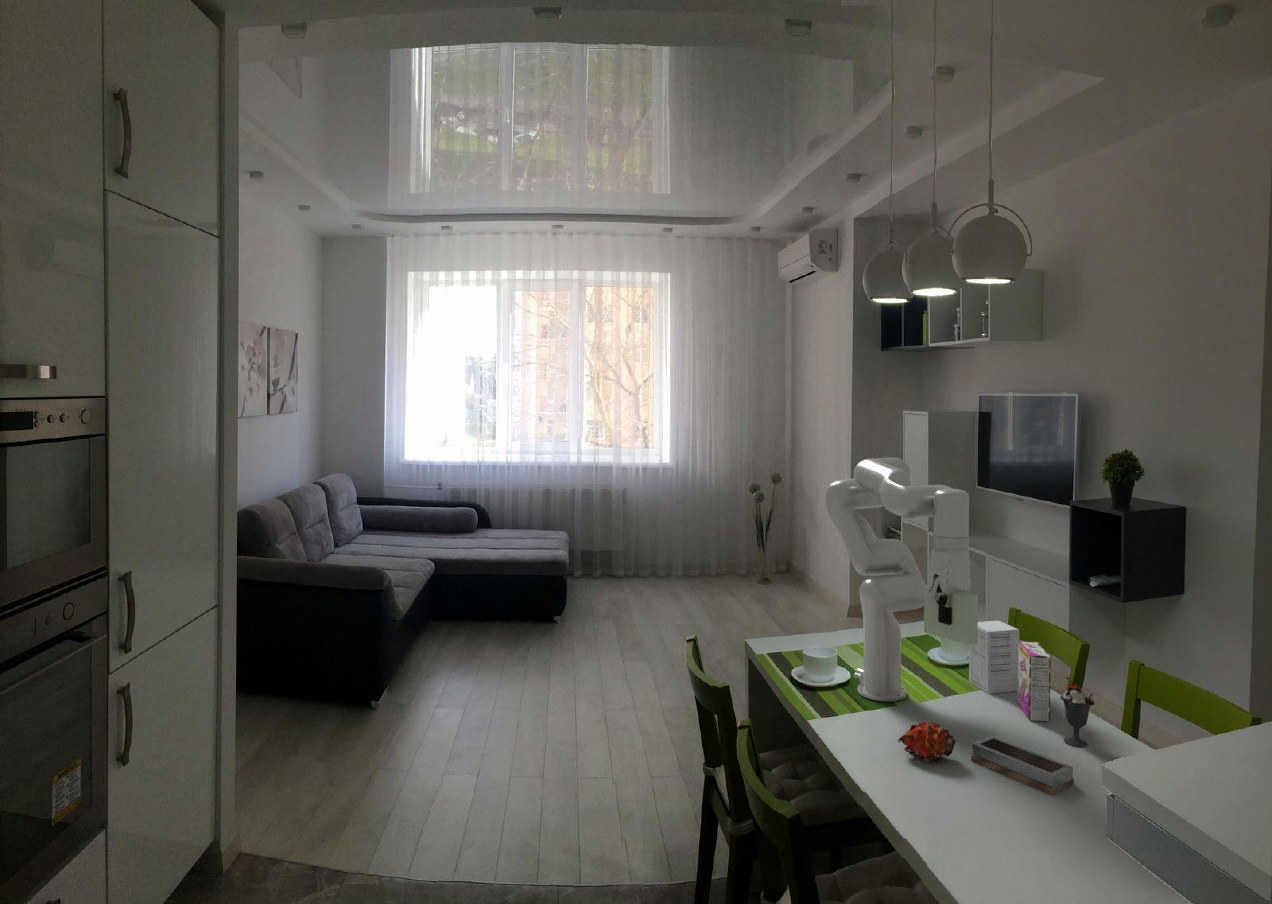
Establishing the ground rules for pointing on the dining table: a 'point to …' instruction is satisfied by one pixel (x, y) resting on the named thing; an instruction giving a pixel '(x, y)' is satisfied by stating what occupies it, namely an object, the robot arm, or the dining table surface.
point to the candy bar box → (1034, 681)
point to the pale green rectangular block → (953, 617)
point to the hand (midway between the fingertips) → (950, 621)
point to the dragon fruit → (928, 741)
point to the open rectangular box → (1022, 764)
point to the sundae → (1076, 712)
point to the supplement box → (994, 658)
